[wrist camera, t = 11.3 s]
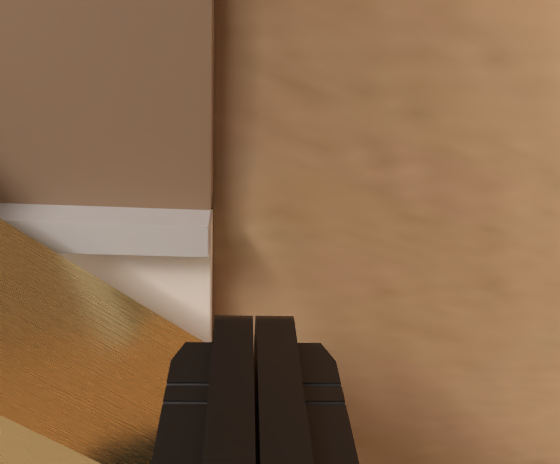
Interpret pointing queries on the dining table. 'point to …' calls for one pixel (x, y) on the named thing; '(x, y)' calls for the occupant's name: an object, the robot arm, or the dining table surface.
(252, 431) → the robot arm
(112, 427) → the swing bar
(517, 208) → the dining table surface
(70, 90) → the door mockup
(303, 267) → the dining table surface
